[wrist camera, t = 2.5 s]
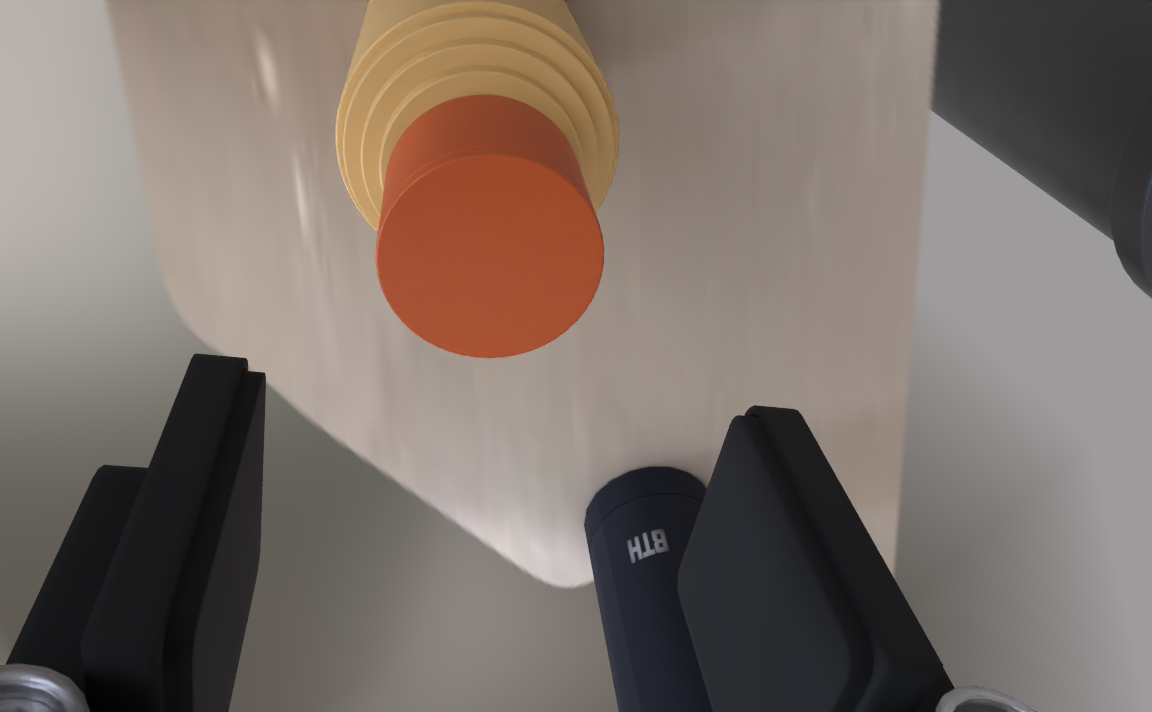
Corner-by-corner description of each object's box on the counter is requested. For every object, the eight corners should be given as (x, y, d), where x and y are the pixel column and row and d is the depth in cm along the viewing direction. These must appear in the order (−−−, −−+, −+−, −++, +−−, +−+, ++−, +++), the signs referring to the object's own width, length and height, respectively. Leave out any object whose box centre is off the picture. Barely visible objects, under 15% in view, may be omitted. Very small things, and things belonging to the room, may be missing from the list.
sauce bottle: (594, 39, 33) (726, 280, 18) (449, 141, 34) (456, 448, 19) (486, -130, 30) (534, -11, 14) (331, -9, 31) (225, 216, 16)
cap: (618, 211, 20) (647, 284, 17) (466, 310, 20) (470, 396, 18) (506, 51, 18) (519, 106, 15) (343, 170, 18) (326, 242, 16)
